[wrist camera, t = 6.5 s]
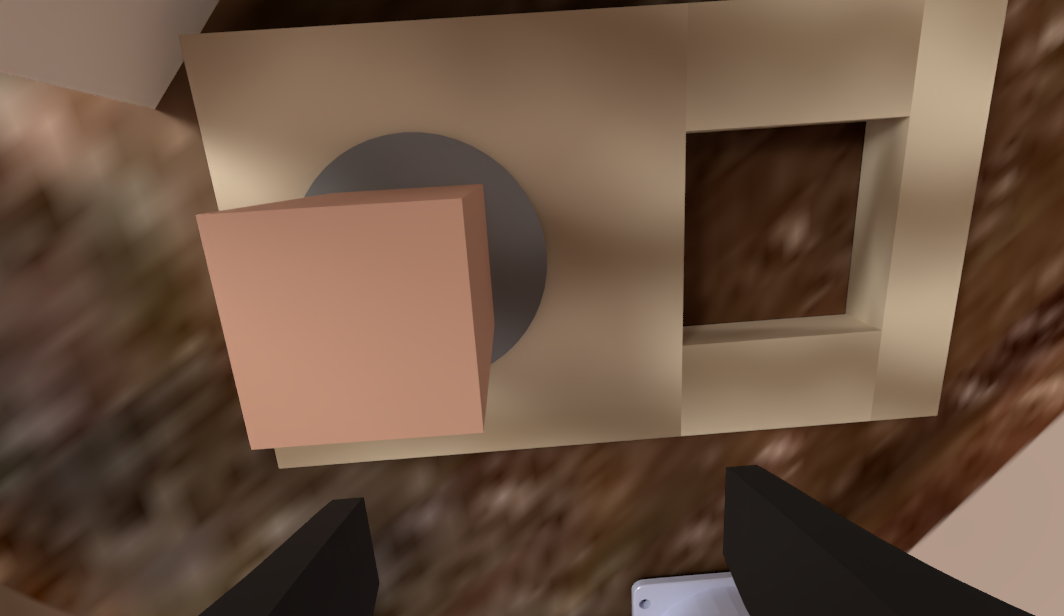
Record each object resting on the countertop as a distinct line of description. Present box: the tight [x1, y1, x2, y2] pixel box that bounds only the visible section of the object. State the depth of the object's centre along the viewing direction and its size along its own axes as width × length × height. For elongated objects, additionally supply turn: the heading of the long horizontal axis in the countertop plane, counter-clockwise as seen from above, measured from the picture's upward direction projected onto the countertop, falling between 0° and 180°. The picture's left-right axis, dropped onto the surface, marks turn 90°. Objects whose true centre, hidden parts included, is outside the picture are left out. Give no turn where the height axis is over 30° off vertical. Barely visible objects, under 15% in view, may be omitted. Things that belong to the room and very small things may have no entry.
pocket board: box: [178, 0, 1008, 469], centre depth 17 cm, size 14×24×2 cm, turn 94°
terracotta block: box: [196, 184, 495, 450], centre depth 13 cm, size 4×4×7 cm
